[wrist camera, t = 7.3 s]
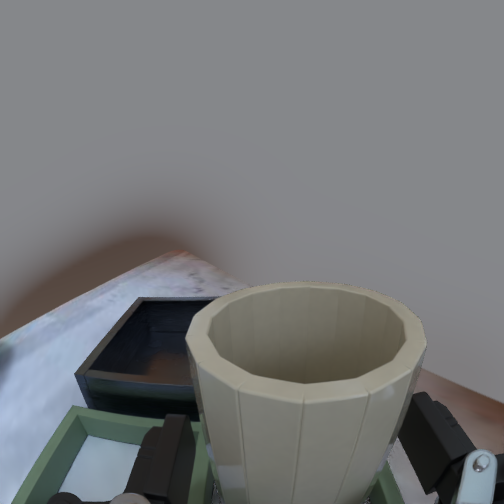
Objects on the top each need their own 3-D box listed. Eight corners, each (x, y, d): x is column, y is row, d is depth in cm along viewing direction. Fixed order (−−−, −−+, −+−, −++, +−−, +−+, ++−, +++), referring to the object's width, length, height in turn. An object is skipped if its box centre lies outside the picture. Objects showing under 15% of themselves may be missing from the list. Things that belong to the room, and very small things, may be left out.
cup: (342, 452, 14) (373, 276, 11) (368, 542, 7) (472, 368, 5) (228, 461, 14) (205, 284, 11) (222, 557, 7) (158, 403, 5)
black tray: (274, 330, 30) (274, 294, 29) (289, 429, 16) (291, 384, 15) (145, 331, 30) (138, 297, 29) (92, 417, 16) (73, 373, 15)
